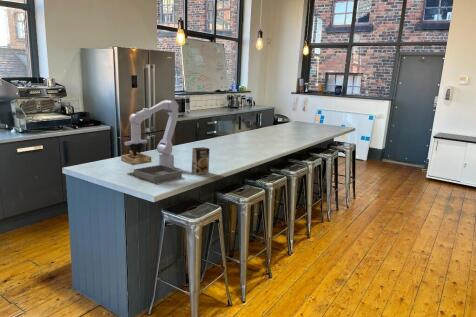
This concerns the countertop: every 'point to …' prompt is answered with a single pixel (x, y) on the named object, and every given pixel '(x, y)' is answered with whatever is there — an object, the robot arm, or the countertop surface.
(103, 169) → the countertop surface
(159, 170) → the charcoal crate
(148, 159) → the pine crate
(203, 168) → the coffee box
